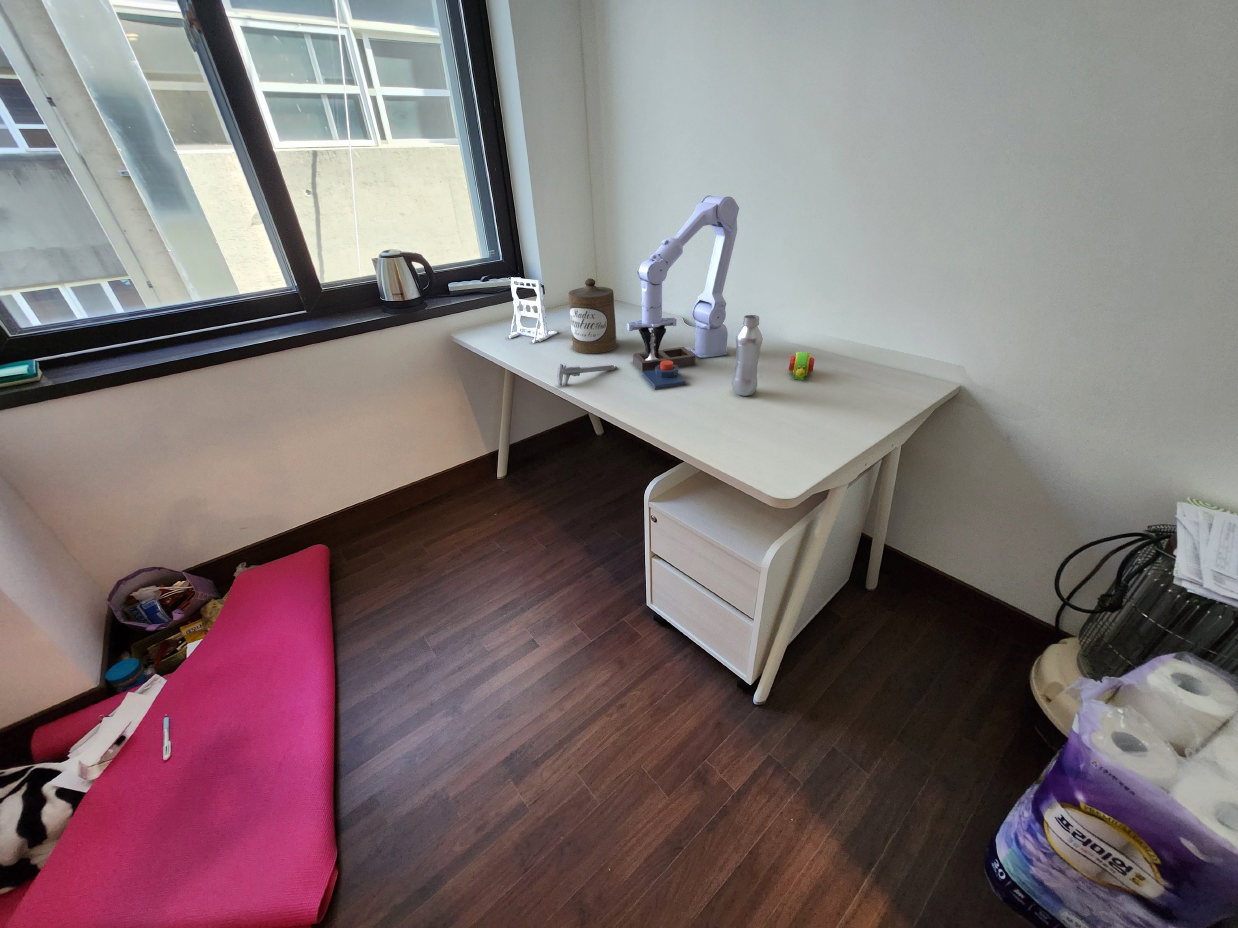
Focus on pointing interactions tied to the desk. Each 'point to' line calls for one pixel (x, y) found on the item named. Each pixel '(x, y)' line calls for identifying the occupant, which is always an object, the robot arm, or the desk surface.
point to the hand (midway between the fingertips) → (651, 352)
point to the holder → (664, 358)
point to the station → (664, 377)
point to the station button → (666, 365)
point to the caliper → (579, 371)
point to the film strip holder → (541, 315)
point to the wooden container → (592, 318)
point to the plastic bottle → (747, 356)
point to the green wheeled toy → (801, 365)
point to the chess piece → (652, 347)
